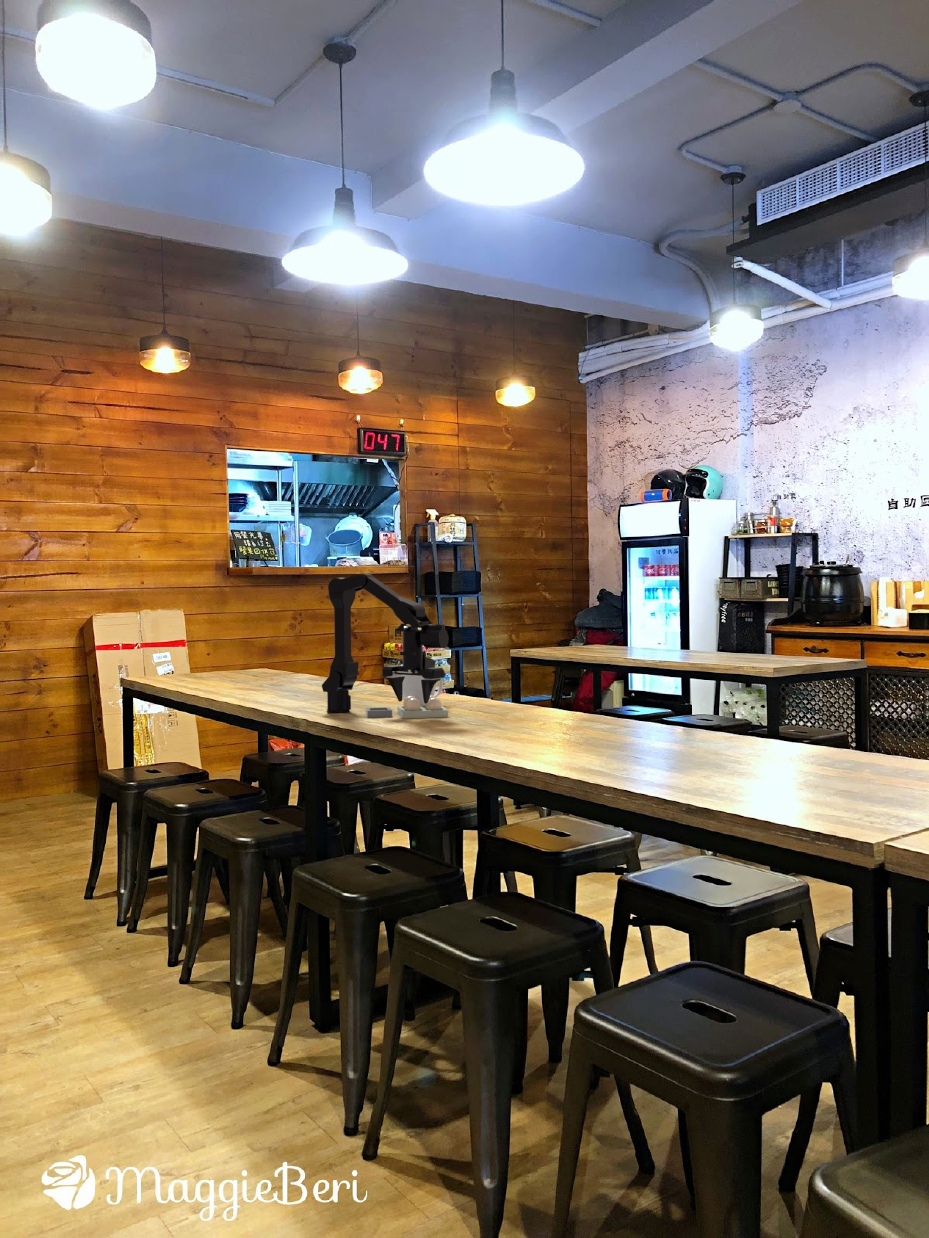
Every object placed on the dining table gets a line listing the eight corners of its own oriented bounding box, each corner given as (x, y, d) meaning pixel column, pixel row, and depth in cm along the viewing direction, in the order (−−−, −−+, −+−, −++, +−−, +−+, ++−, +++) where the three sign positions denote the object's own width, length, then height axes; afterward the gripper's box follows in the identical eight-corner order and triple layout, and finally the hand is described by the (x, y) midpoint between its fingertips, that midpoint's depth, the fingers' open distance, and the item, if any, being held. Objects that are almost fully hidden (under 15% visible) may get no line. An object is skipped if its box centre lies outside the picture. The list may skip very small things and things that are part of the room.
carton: (402, 718, 267) (402, 699, 267) (397, 712, 280) (397, 694, 280) (448, 716, 270) (448, 698, 269) (441, 711, 282) (440, 693, 282)
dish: (367, 717, 269) (367, 710, 269) (365, 714, 276) (365, 707, 276) (392, 716, 271) (392, 710, 271) (389, 713, 278) (389, 707, 277)
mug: (431, 702, 304) (431, 661, 304) (453, 705, 296) (453, 663, 295) (393, 706, 295) (393, 664, 295) (414, 709, 286) (414, 666, 286)
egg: (406, 713, 269) (406, 699, 269) (404, 712, 273) (404, 697, 273) (421, 713, 270) (421, 698, 269) (419, 711, 274) (419, 697, 274)
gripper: (455, 647, 272) (456, 701, 273) (404, 645, 283) (404, 697, 283) (432, 649, 263) (433, 705, 263) (380, 647, 273) (380, 701, 274)
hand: (413, 702), depth 271 cm, fingers open, 9 cm apart
